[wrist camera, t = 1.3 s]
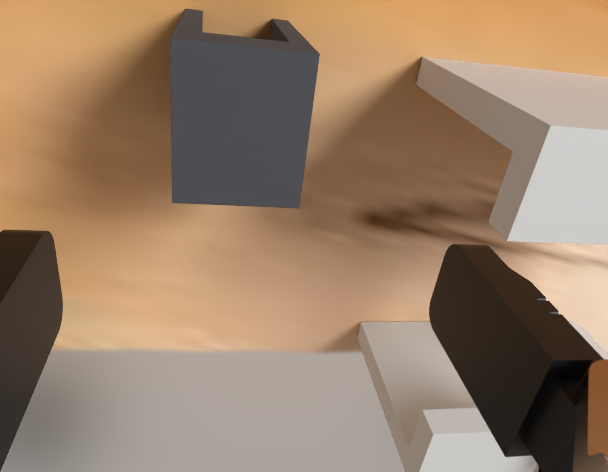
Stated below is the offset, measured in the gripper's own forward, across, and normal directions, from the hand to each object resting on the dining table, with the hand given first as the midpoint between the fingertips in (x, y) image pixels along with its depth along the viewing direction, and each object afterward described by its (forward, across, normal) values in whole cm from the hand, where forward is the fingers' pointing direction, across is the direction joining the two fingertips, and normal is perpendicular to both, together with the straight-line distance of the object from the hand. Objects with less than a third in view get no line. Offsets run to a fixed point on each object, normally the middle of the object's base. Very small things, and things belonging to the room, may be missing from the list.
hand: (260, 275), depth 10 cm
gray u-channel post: (+18, 0, 0) cm, 18 cm away
